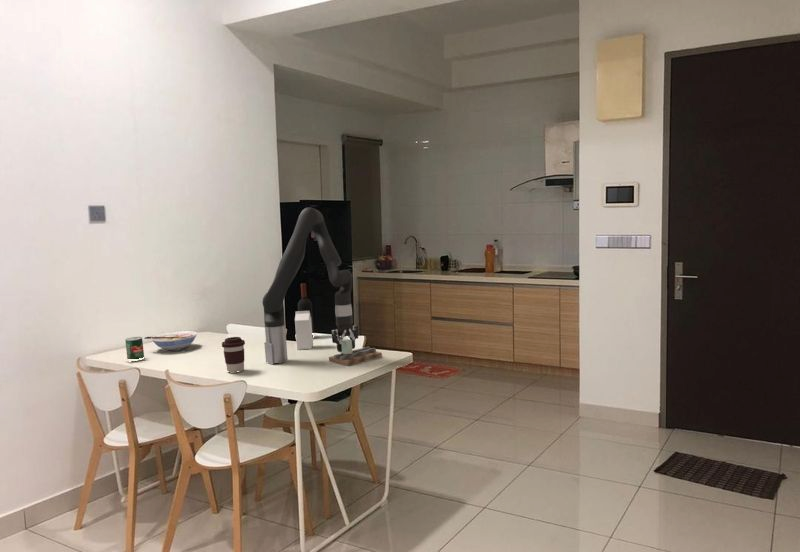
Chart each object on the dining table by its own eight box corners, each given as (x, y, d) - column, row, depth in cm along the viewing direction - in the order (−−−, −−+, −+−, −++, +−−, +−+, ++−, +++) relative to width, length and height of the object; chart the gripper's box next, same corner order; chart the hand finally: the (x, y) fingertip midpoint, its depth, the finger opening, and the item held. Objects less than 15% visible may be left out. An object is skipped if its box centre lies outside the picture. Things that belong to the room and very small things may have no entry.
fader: (347, 358, 286) (346, 341, 285) (340, 356, 290) (339, 339, 289) (352, 356, 288) (351, 340, 287) (346, 355, 291) (345, 338, 291)
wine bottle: (301, 340, 340) (296, 285, 336) (299, 337, 347) (295, 283, 344) (315, 338, 342) (311, 283, 338) (313, 336, 349) (309, 282, 346)
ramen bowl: (208, 344, 343) (207, 329, 342) (184, 354, 321) (182, 339, 320) (168, 344, 350) (166, 329, 349) (141, 354, 328) (140, 339, 327)
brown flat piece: (347, 366, 280) (347, 358, 280) (329, 361, 291) (328, 353, 290) (381, 356, 294) (381, 349, 293) (362, 352, 304) (362, 345, 304)
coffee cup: (238, 367, 289) (235, 335, 288) (251, 370, 283) (248, 337, 281) (219, 372, 282) (216, 339, 280) (233, 375, 275) (230, 341, 274)
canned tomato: (138, 362, 311) (135, 340, 310) (124, 362, 313) (121, 340, 311) (147, 358, 319) (145, 336, 318) (133, 358, 320) (131, 336, 319)
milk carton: (311, 349, 317) (308, 312, 315) (297, 350, 318) (294, 312, 315) (313, 346, 325) (310, 309, 322) (299, 346, 325) (296, 310, 322)
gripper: (351, 311, 294) (353, 346, 296) (326, 316, 284) (328, 352, 286) (361, 312, 288) (363, 348, 290) (336, 317, 279) (338, 354, 281)
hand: (346, 350), depth 288 cm, fingers open, 6 cm apart
